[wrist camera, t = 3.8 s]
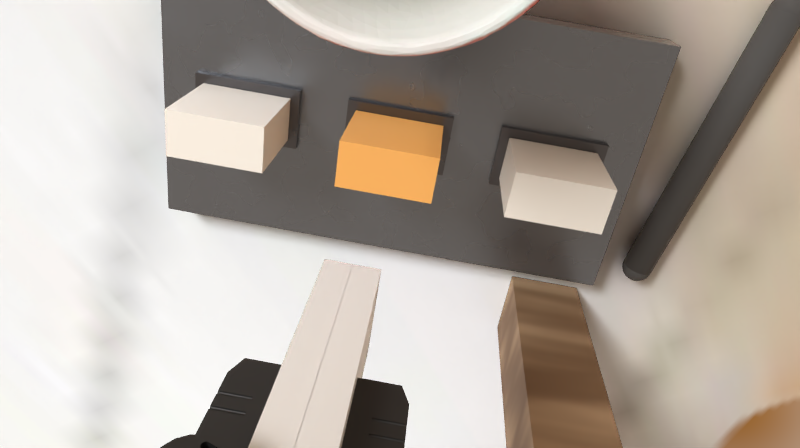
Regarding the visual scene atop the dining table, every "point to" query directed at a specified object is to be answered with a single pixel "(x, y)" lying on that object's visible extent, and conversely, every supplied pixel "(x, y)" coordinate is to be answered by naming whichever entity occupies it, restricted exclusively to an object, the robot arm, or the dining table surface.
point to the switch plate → (425, 102)
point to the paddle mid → (389, 156)
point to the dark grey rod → (714, 135)
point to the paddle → (227, 127)
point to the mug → (403, 22)
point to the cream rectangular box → (556, 186)
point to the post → (551, 371)
